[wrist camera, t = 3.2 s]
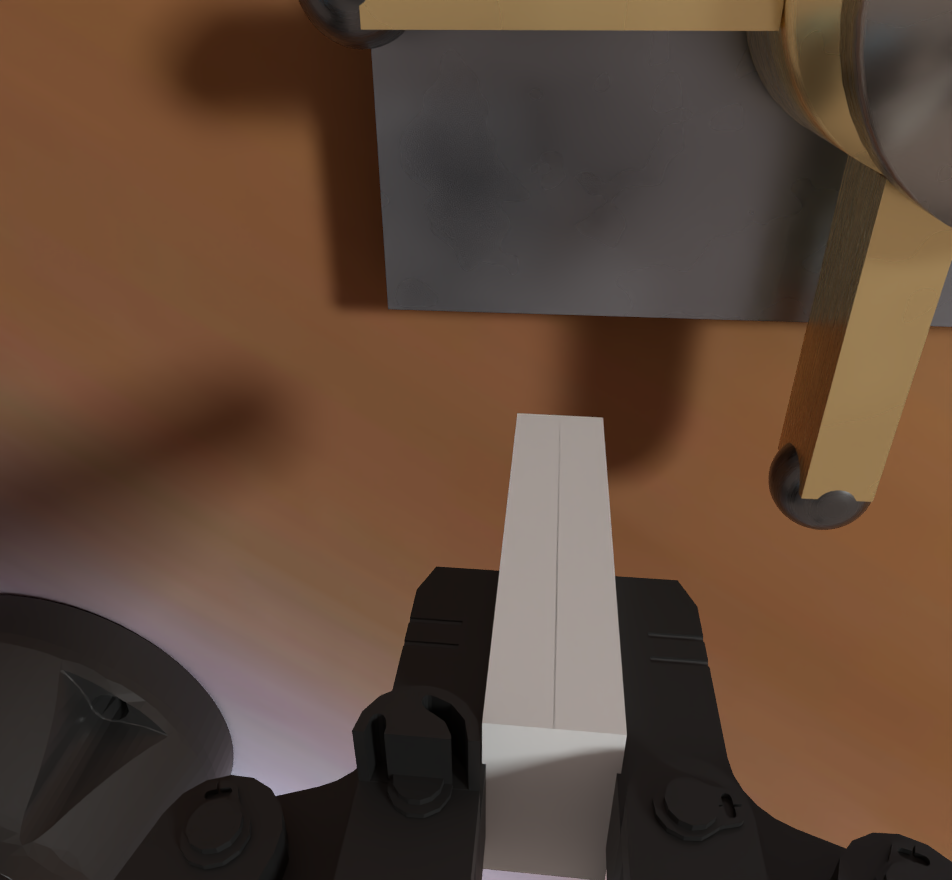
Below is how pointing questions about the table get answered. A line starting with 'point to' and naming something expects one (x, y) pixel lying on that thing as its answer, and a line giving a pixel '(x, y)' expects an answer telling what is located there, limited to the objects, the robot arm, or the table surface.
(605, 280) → the stand
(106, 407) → the table surface
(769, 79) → the capstan
